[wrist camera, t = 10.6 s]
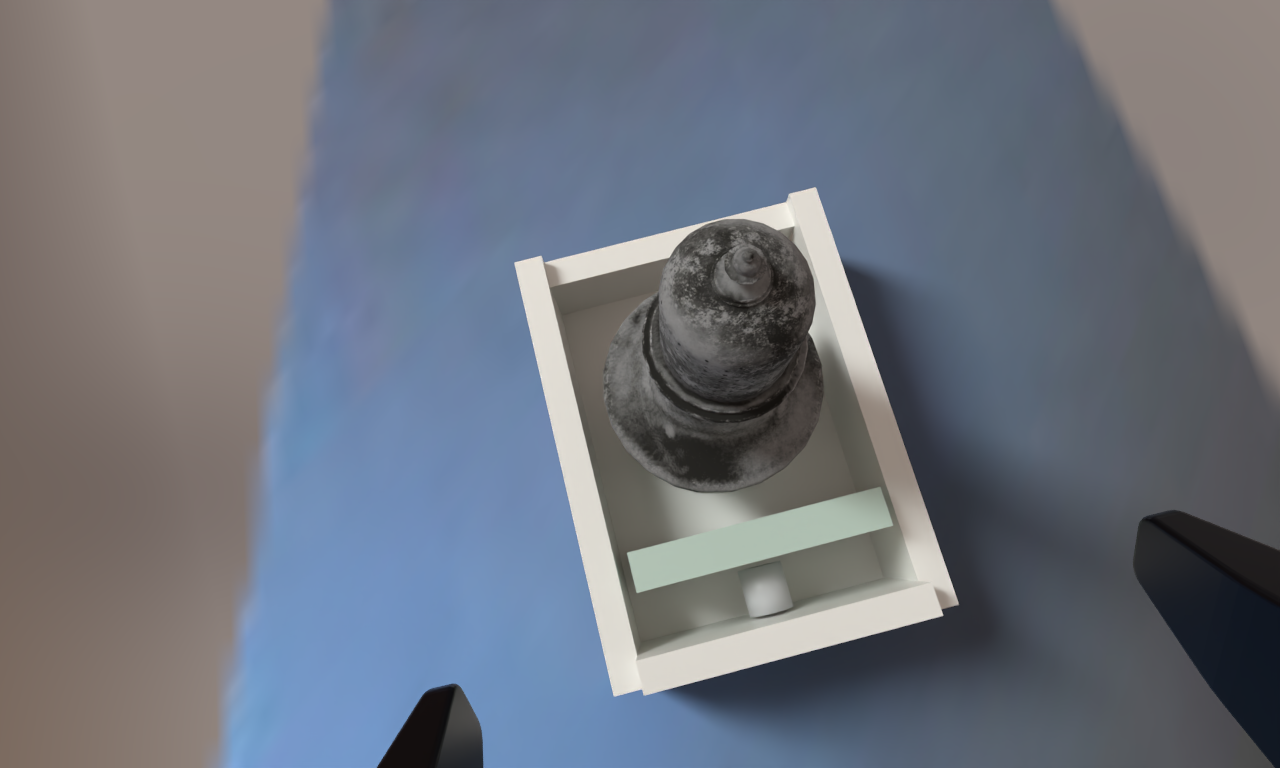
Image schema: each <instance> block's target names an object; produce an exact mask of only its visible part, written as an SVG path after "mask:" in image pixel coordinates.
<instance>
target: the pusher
mask: <svg viewBox="0 0 1280 768" xmlns="http://www.w3.org/2000/svg"><path fill="white" fill-rule="evenodd" d="M890 526H893V523H892V520H891V517H890V514H889V511H888V508H887V505H886V502H885V499H884V496H883V493H882V490H881V487H877V488H873V489H869V490H865V491H861V492H857V493H854V494H850V495H846V496H842V497H838V498H834V499H831V500H827V501H823V502H819V503H815V504H812V505H808V506H804V507H800V508H796V509H792V510H789V511H785V512H781V513H777V514H773V515H769V516H766V517H762V518H758V519H754V520H750V521H747V522H743V523H739V524H735V525H731V526H727V527H724V528H720V529H716V530H712V531H708V532H704V533H701V534H697V535H693V536H689V537H685V538H682V539H678V540H674V541H670V542H666V543H662V544H659V545H655V546H651V547H647V548H643V549H639V550H636V551H632V552H628V553H627V555H628V559H629V564H630V568H631V572H632V576H633V580H634V584H635V588H636V592H637V593H639V592H643V591H647V590H650V589H654V588H658V587H662V586H666V585H669V584H673V583H677V582H681V581H685V580H688V579H692V578H696V577H700V576H704V575H707V574H711V573H715V572H719V571H723V570H726V569H730V568H734V567H738V566H742V565H745V564H749V563H753V562H757V561H761V560H764V559H768V558H772V557H776V556H780V555H783V554H787V553H791V552H795V551H799V550H802V549H806V548H810V547H814V546H818V545H821V544H825V543H829V542H833V541H837V540H840V539H844V538H848V537H852V536H856V535H859V534H863V533H867V532H871V531H875V530H878V529H882V528H886V527H890Z"/></svg>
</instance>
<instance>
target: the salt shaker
mask: <svg viewBox="0 0 1280 768" xmlns="http://www.w3.org/2000/svg"><path fill="white" fill-rule="evenodd" d="M815 306H816V299H815V288H814V279H813V276H812V273H811V271H810V268H809V265H808V262H807V260H806V259H805V258H804V256H803V255H802V253H801V252H800V250H799V249H798V248H797V246H796V245H795V244H794V243H793V242H792V241H790V240H789V239H788V238H787V237H786V236H785V235H783V234H782V233H781V232H780V231H778V230H776V229H774V228H772V227H770V226H768V225H766V224H764V223H760V222H755V221H751V220H747V219H723V220H720V221H716V222H712V223H709V224H705V225H704V226H702V227H700V228H698V229H697V230H695V231H693V232H692V233H690V234H689V235H688V236H687V237H686V238H685V239H684V240H683V241H682V242H681V243H680V244H679V245H678V246H677V247H676V248H675V249H674V251H673V252H672V254H671V256H670V258H669V259H668V261H667V263H666V265H665V267H664V268H663V272H662V276H661V280H660V284H659V291H658V292H657V293H656V294H654V295H652V296H650V297H649V298H647V299H645V300H644V301H643V302H642V303H641V304H640V305H639V306H638V307H637V308H636V309H635V310H634V311H633V312H632V313H631V314H630V315H629V316H628V317H627V318H626V319H625V320H624V321H623V323H622V325H621V326H620V328H619V330H618V331H617V333H616V335H615V337H614V338H613V340H612V342H611V343H610V347H609V351H608V355H607V358H606V362H605V366H604V370H603V398H604V402H605V405H606V409H607V412H608V416H609V420H610V423H611V426H612V428H613V430H614V431H615V433H616V435H617V436H618V438H619V440H620V441H621V443H622V445H623V446H624V448H625V450H626V451H627V452H628V453H629V454H630V455H631V456H632V457H633V458H634V459H635V460H636V461H637V462H638V463H639V464H640V465H642V466H643V467H644V468H645V469H646V470H647V471H648V472H650V473H652V474H654V475H655V476H657V477H658V478H660V479H662V480H664V481H666V482H667V483H669V484H671V485H673V486H675V487H678V488H682V489H686V490H690V491H694V492H733V491H737V490H740V489H743V488H747V487H750V486H754V485H757V484H760V483H762V482H764V481H765V480H767V479H768V478H770V477H772V476H773V475H775V474H777V473H778V472H780V471H781V470H783V469H785V468H786V467H787V466H788V465H789V464H790V463H791V462H792V461H793V459H794V458H795V457H796V456H797V455H798V454H799V453H800V452H801V451H802V450H803V449H804V448H805V446H806V445H807V443H808V441H809V439H810V437H811V435H812V433H813V431H814V429H815V427H816V425H817V423H818V421H819V416H820V411H821V406H822V401H823V396H824V386H823V373H822V364H821V361H820V358H819V355H818V353H817V350H816V347H815V344H814V341H813V339H812V337H811V336H810V334H809V333H808V331H809V329H810V327H811V325H812V322H813V317H814V311H815Z"/></svg>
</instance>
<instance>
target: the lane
mask: <svg viewBox="0 0 1280 768" xmlns="http://www.w3.org/2000/svg"><path fill="white" fill-rule="evenodd" d="M723 219H747V220H751V221H755V222H760V223H764V224H766V225H768V226H770V227H772V228H774V229H776V230H778V231H780V232H781V233H782V234H783V235H785V236H786V237H787V238H788V239H789V240H790V241H792V242H793V243H794V244H795V245H796V246H797V248H798V249H799V250H800V252H801V253H802V255H803V256H804V258H805V259H806V260H807V262H808V265H809V268H810V271H811V273H812V276H813V279H814V288H815V299H816V306H815V311H814V317H813V322H812V325H811V327H810V329H809V331H808V333H809V334H810V336H811V337H812V339H813V341H814V344H815V347H816V350H817V353H818V355H819V358H820V361H821V364H822V373H823V386H824V396H823V401H822V406H821V411H820V416H819V421H818V423H817V425H816V427H815V429H814V431H813V433H812V435H811V437H810V439H809V441H808V443H807V445H806V446H805V448H804V449H803V450H802V451H801V452H800V453H799V454H798V455H797V456H796V457H795V458H794V459H793V461H792V462H791V463H790V464H789V465H788V466H787V467H786V468H785V469H783V470H781V471H780V472H778V473H777V474H775V475H773V476H772V477H770V478H768V479H767V480H765V481H764V482H762V483H760V484H757V485H754V486H750V487H747V488H743V489H740V490H737V491H733V492H694V491H690V490H686V489H682V488H678V487H675V486H673V485H671V484H669V483H667V482H666V481H664V480H662V479H660V478H658V477H657V476H655V475H654V474H652V473H650V472H648V471H647V470H646V469H645V468H644V467H643V466H642V465H640V464H639V463H638V462H637V461H636V460H635V459H634V458H633V457H632V456H631V455H630V454H629V453H628V452H627V451H626V450H625V448H624V446H623V445H622V443H621V441H620V440H619V438H618V436H617V435H616V433H615V431H614V430H613V428H612V426H611V423H610V420H609V416H608V412H607V409H606V405H605V402H604V398H603V370H604V366H605V362H606V358H607V355H608V351H609V347H610V343H611V342H612V340H613V338H614V337H615V335H616V333H617V331H618V330H619V328H620V326H621V325H622V323H623V321H624V320H625V319H626V318H627V317H628V316H629V315H630V314H631V313H632V312H633V311H634V310H635V309H636V308H637V307H638V306H639V305H640V304H641V303H642V302H643V301H644V300H645V299H647V298H649V297H650V296H652V295H654V294H656V293H657V292H658V291H659V284H660V280H661V276H662V272H663V268H664V267H665V265H666V263H667V261H668V259H669V258H670V256H671V254H672V252H673V251H674V249H675V248H676V247H677V246H678V245H679V244H680V243H681V242H682V241H683V240H684V239H685V238H686V237H687V236H688V235H689V234H690V233H692V232H693V231H695V230H697V229H698V228H700V227H702V226H704V225H705V224H709V223H712V222H716V221H720V220H723ZM515 267H516V272H517V276H518V280H519V285H520V289H521V294H522V298H523V302H524V307H525V311H526V315H527V320H528V324H529V328H530V333H531V337H532V342H533V346H534V350H535V355H536V359H537V363H538V368H539V372H540V376H541V381H542V385H543V389H544V394H545V398H546V403H547V407H548V411H549V416H550V420H551V424H552V429H553V433H554V437H555V442H556V446H557V451H558V455H559V459H560V464H561V468H562V472H563V477H564V481H565V485H566V490H567V494H568V499H569V503H570V507H571V512H572V516H573V520H574V525H575V529H576V533H577V538H578V542H579V546H580V551H581V555H582V560H583V564H584V568H585V573H586V577H587V581H588V586H589V590H590V594H591V599H592V603H593V608H594V612H595V616H596V621H597V625H598V629H599V634H600V638H601V642H602V647H603V651H604V656H605V660H606V664H607V669H608V673H609V677H610V682H611V686H612V690H613V695H614V697H615V696H618V695H622V694H626V693H630V692H633V691H637V690H641V689H642V690H643V694H644V696H645V695H648V694H652V693H656V692H660V691H663V690H667V689H671V688H675V687H678V686H682V685H686V684H690V683H693V682H697V681H701V680H705V679H708V678H712V677H716V676H720V675H723V674H727V673H731V672H735V671H738V670H742V669H746V668H750V667H753V666H757V665H761V664H765V663H768V662H772V661H776V660H780V659H783V658H787V657H791V656H795V655H798V654H802V653H806V652H810V651H813V650H817V649H821V648H824V647H828V646H832V645H836V644H839V643H843V642H847V641H851V640H854V639H858V638H862V637H866V636H869V635H873V634H877V633H881V632H884V631H888V630H892V629H896V628H899V627H903V626H907V625H911V624H914V623H918V622H922V621H926V620H929V619H933V618H937V617H941V616H943V613H942V610H941V609H945V608H948V607H952V606H956V605H959V603H958V600H957V597H956V594H955V591H954V588H953V585H952V583H951V580H950V577H949V574H948V571H947V568H946V565H945V562H944V559H943V556H942V553H941V551H940V548H939V545H938V542H937V539H936V536H935V533H934V530H933V527H932V524H931V521H930V519H929V516H928V513H927V510H926V507H925V504H924V501H923V498H922V495H921V492H920V489H919V487H918V484H917V481H916V478H915V475H914V472H913V469H912V466H911V463H910V460H909V457H908V455H907V452H906V449H905V446H904V443H903V440H902V437H901V434H900V431H899V428H898V425H897V423H896V420H895V417H894V414H893V411H892V408H891V405H890V402H889V399H888V396H887V393H886V390H885V388H884V385H883V382H882V379H881V376H880V373H879V370H878V367H877V364H876V361H875V358H874V356H873V353H872V350H871V347H870V344H869V341H868V338H867V335H866V332H865V329H864V326H863V324H862V321H861V318H860V315H859V312H858V309H857V306H856V303H855V300H854V297H853V294H852V292H851V289H850V286H849V283H848V280H847V277H846V274H845V271H844V268H843V265H842V262H841V260H840V257H839V254H838V251H837V248H836V245H835V242H834V239H833V236H832V233H831V230H830V228H829V225H828V222H827V219H826V216H825V213H824V210H823V207H822V204H821V201H820V198H819V196H818V193H817V190H816V187H815V188H811V189H807V190H803V191H799V192H795V193H791V194H789V196H788V199H787V202H785V203H781V204H777V205H773V206H769V207H765V208H761V209H757V210H753V211H749V212H745V213H741V214H737V215H733V216H729V217H725V218H721V219H717V220H713V221H709V222H705V223H701V224H697V225H693V226H689V227H685V228H681V229H677V230H673V231H669V232H665V233H661V234H657V235H653V236H649V237H645V238H641V239H637V240H633V241H629V242H625V243H621V244H617V245H613V246H609V247H605V248H601V249H597V250H593V251H589V252H585V253H581V254H577V255H573V256H569V257H565V258H561V259H557V260H553V261H549V262H545V263H544V261H543V258H542V256H539V257H535V258H531V259H527V260H523V261H519V262H515ZM877 487H881V490H882V493H883V496H884V499H885V502H886V505H887V508H888V511H889V514H890V517H891V520H892V523H893V526H890V527H886V528H882V529H878V530H875V531H871V532H867V533H863V534H859V535H856V536H852V537H848V538H844V539H840V540H837V541H833V542H829V543H825V544H821V545H818V546H814V547H810V548H806V549H802V550H799V551H795V552H791V553H787V554H783V555H780V556H776V557H772V558H768V559H764V560H761V561H757V562H753V563H749V564H745V565H742V566H738V567H734V568H730V569H726V570H723V571H719V572H715V573H711V574H707V575H704V576H700V577H696V578H692V579H688V580H685V581H681V582H677V583H673V584H669V585H666V586H662V587H658V588H654V589H650V590H647V591H643V592H639V593H637V592H636V588H635V584H634V580H633V576H632V572H631V568H630V564H629V559H628V555H627V553H628V552H632V551H636V550H639V549H643V548H647V547H651V546H655V545H659V544H662V543H666V542H670V541H674V540H678V539H682V538H685V537H689V536H693V535H697V534H701V533H704V532H708V531H712V530H716V529H720V528H724V527H727V526H731V525H735V524H739V523H743V522H747V521H750V520H754V519H758V518H762V517H766V516H769V515H773V514H777V513H781V512H785V511H789V510H792V509H796V508H800V507H804V506H808V505H812V504H815V503H819V502H823V501H827V500H831V499H834V498H838V497H842V496H846V495H850V494H854V493H857V492H861V491H865V490H869V489H873V488H877Z"/></svg>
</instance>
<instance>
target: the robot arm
mask: <svg viewBox="0 0 1280 768" xmlns="http://www.w3.org/2000/svg"><path fill="white" fill-rule="evenodd" d="M1133 567H1134V572H1135V575H1136V577H1137V579H1138V581H1139V583H1140V584H1141V586H1142V587H1143V589H1144V590H1145V592H1146V593H1147V595H1148V596H1149V598H1150V599H1151V601H1152V602H1153V604H1154V605H1155V607H1156V608H1157V610H1158V611H1159V613H1160V614H1161V616H1162V617H1163V619H1164V620H1165V622H1166V623H1167V625H1168V626H1169V628H1170V629H1171V631H1172V632H1173V634H1174V635H1175V637H1176V638H1177V640H1178V641H1179V643H1180V644H1181V646H1182V647H1183V649H1184V650H1185V652H1186V653H1187V655H1188V656H1189V658H1190V659H1191V661H1192V662H1193V663H1194V665H1195V666H1196V668H1197V669H1198V671H1199V672H1200V674H1201V675H1202V677H1203V678H1204V679H1205V681H1206V682H1207V684H1208V685H1209V686H1210V688H1211V689H1212V691H1213V692H1214V693H1215V694H1216V696H1217V697H1218V698H1219V699H1220V701H1221V702H1222V703H1223V705H1224V706H1225V707H1226V708H1227V710H1228V711H1229V712H1230V713H1231V714H1232V716H1233V717H1234V718H1235V719H1236V721H1237V722H1238V723H1239V724H1240V725H1241V727H1242V728H1243V729H1244V730H1245V732H1246V733H1247V734H1248V735H1249V736H1250V738H1251V739H1252V740H1253V741H1254V743H1255V744H1256V745H1257V746H1258V747H1259V749H1260V750H1261V751H1262V752H1263V754H1264V755H1265V756H1266V757H1267V758H1268V760H1269V761H1270V762H1271V763H1272V765H1273V766H1274V767H1275V768H1280V550H1278V549H1275V548H1273V547H1270V546H1268V545H1265V544H1263V543H1260V542H1258V541H1255V540H1253V539H1250V538H1248V537H1245V536H1243V535H1240V534H1238V533H1235V532H1233V531H1230V530H1228V529H1225V528H1223V527H1220V526H1218V525H1215V524H1212V523H1210V522H1207V521H1205V520H1202V519H1200V518H1197V517H1195V516H1192V515H1190V514H1187V513H1185V512H1181V511H1177V510H1170V511H1165V512H1161V513H1157V514H1153V515H1149V516H1146V517H1144V518H1143V519H1142V520H1141V521H1140V523H1139V526H1138V532H1137V539H1136V545H1135V551H1134V558H1133ZM377 768H483V740H482V731H481V726H480V723H479V721H478V718H477V717H476V715H475V713H474V711H473V709H472V707H471V705H470V703H469V701H468V700H467V698H466V696H465V694H464V692H463V690H462V689H461V687H460V686H459V685H457V684H449V685H445V686H441V687H436V688H432V689H430V690H428V691H426V692H425V693H424V694H423V696H422V697H421V698H420V700H419V702H418V703H417V705H416V706H415V708H414V710H413V711H412V713H411V714H410V716H409V717H408V719H407V721H406V722H405V724H404V725H403V727H402V729H401V730H400V732H399V733H398V735H397V736H396V738H395V740H394V741H393V743H392V744H391V746H390V748H389V749H388V751H387V752H386V754H385V755H384V757H383V759H382V760H381V762H380V763H379V765H378V767H377Z"/></svg>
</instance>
